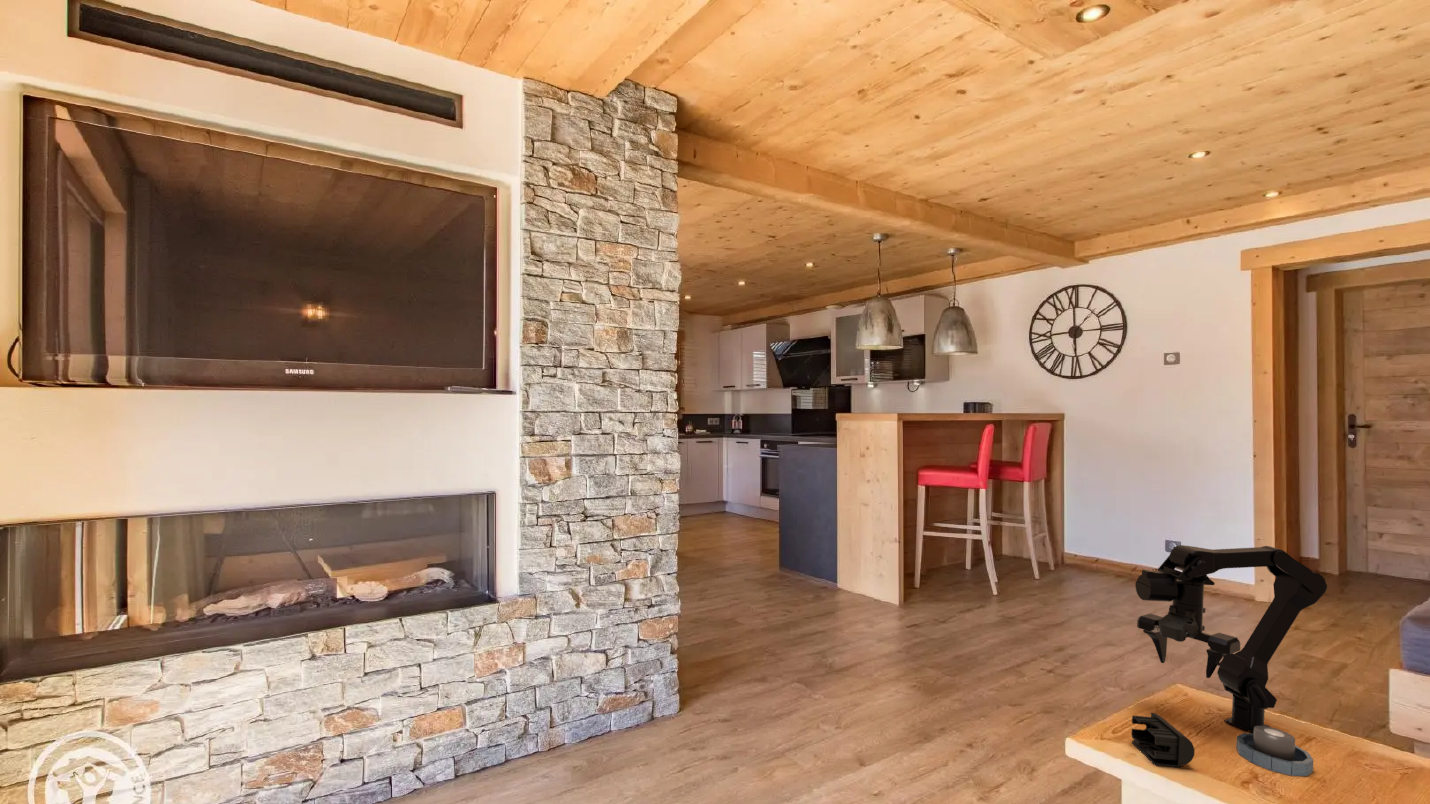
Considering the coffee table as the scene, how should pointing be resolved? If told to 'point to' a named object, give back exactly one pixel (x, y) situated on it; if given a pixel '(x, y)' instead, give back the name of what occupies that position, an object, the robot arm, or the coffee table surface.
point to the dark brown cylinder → (1274, 742)
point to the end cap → (1161, 742)
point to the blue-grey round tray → (1293, 768)
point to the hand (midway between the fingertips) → (1184, 669)
